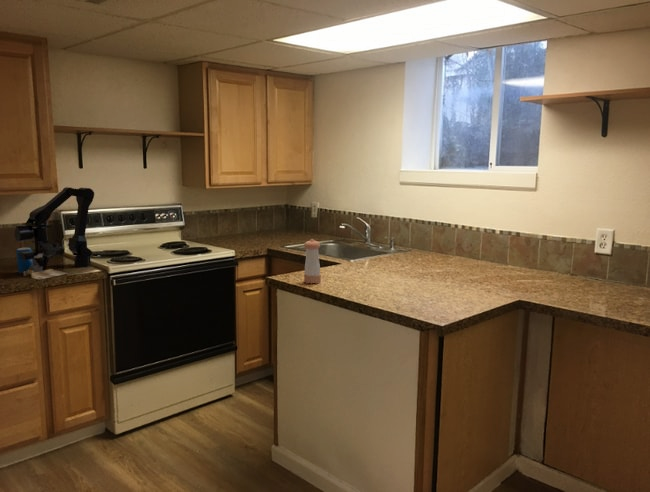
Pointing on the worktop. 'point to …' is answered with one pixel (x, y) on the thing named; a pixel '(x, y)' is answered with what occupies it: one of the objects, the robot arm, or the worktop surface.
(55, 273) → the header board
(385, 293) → the worktop surface
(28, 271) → the brass knob strip
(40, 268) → the block
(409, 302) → the worktop surface
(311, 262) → the pepper shaker
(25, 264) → the beverage can
